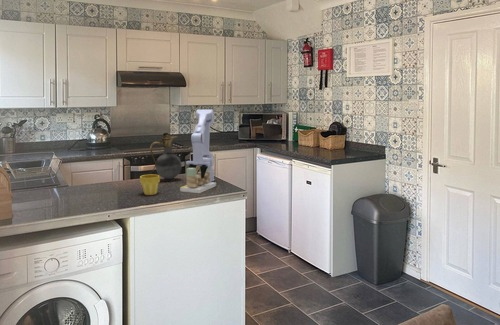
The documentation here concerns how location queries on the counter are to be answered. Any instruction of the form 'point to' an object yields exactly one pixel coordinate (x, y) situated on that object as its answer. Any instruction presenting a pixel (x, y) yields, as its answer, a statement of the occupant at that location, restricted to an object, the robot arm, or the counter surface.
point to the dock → (198, 187)
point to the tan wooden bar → (197, 179)
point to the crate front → (191, 171)
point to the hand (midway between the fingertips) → (198, 177)
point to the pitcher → (167, 159)
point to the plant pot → (150, 183)
